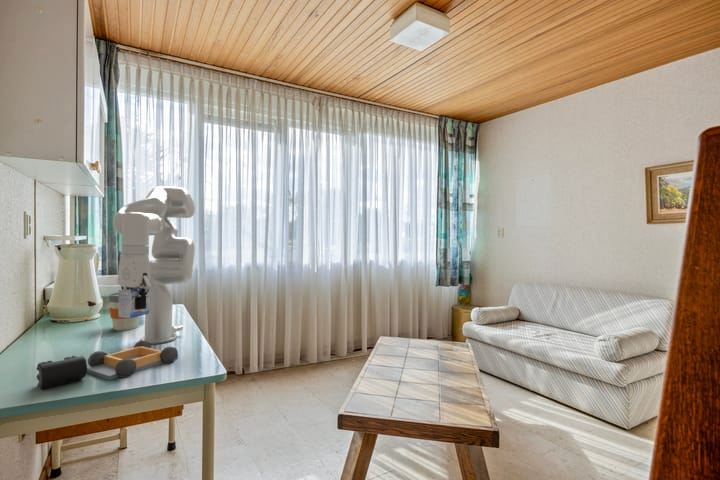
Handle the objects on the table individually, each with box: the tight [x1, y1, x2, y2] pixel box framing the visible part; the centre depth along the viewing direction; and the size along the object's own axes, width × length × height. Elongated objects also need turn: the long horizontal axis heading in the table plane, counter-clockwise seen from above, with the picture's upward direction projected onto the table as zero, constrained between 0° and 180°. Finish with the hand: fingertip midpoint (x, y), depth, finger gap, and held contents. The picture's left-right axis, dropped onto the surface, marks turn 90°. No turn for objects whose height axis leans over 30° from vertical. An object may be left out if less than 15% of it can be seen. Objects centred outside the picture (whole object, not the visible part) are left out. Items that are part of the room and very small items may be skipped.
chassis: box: [86, 340, 179, 381], centre depth 120 cm, size 22×16×5 cm
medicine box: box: [118, 288, 149, 318], centre depth 120 cm, size 8×4×9 cm, turn 167°
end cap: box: [36, 355, 88, 390], centre depth 105 cm, size 10×7×7 cm
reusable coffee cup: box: [108, 292, 140, 331], centre depth 167 cm, size 13×13×15 cm
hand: (134, 307), depth 120 cm, fingers closed on medicine box, 5 cm apart
